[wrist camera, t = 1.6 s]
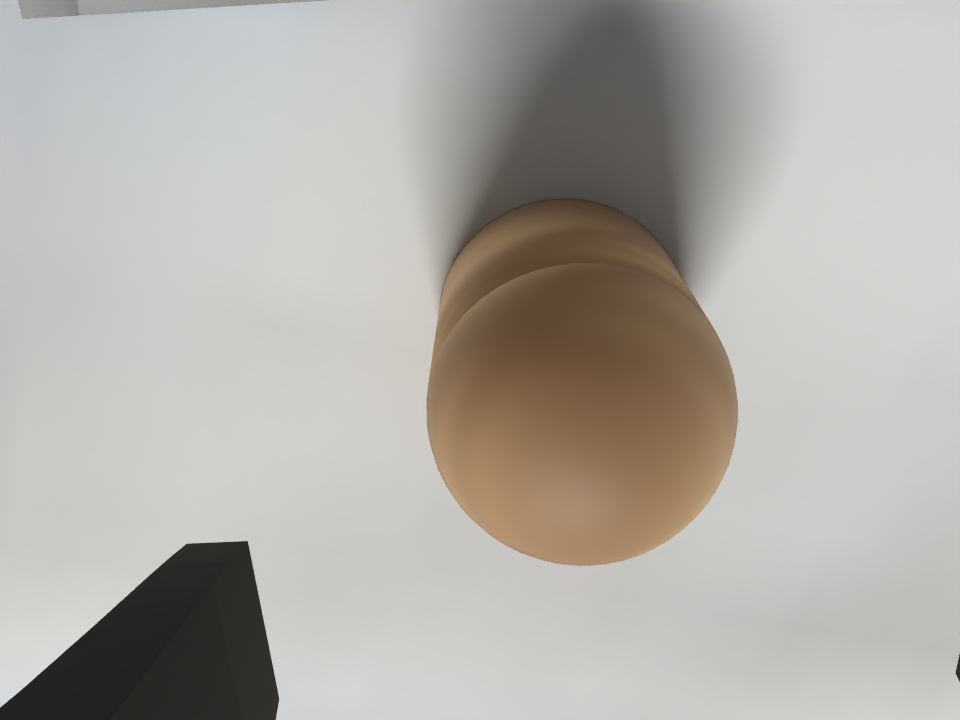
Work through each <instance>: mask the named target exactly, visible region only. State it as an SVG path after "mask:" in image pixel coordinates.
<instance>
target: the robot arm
mask: <svg viewBox="0 0 960 720" xmlns="http://www.w3.org/2000/svg"><path fill="white" fill-rule="evenodd" d="M956 675H957V677H958V679H959V681H960V655H959V660H958V664H957V669H956ZM278 703H279V696H278V691H277V686H276V681H275V676H274V670H273V665H272V660H271V655H270V650H269V645H268V640H267V635H266V630H265V625H264V620H263V615H262V610H261V605H260V600H259V595H258V590H257V585H256V580H255V575H254V570H253V565H252V560H251V555H250V550H249V545H248V541H241V542H218V543H196V544H186V545H185V546H184V547H182V548H181V549H180V550H179V551H177V552H176V553H175V554H174V555H173V556H171V557H170V558H169V559H168V560H167V561H166V562H164V563H163V564H162V565H161V566H160V567H159V568H158V569H156V570H155V571H154V572H153V573H152V574H151V575H150V576H149V577H148V578H146V579H145V580H144V581H143V582H142V583H141V584H140V585H139V586H138V587H136V588H135V589H134V590H133V591H132V592H131V593H130V594H129V595H128V596H126V597H125V598H124V599H123V600H122V601H121V602H120V603H119V604H118V605H117V606H115V607H114V608H113V609H112V610H111V611H110V612H109V613H108V614H107V615H106V616H104V617H103V618H102V619H101V620H100V621H99V622H98V623H97V624H96V625H94V626H93V627H92V628H91V629H90V630H89V631H88V632H87V633H85V634H84V635H83V636H82V637H81V638H80V639H79V640H78V641H76V642H75V643H74V644H73V645H72V646H71V647H70V648H69V649H67V650H66V651H65V652H64V653H63V654H62V655H61V656H59V657H58V658H57V659H56V660H55V661H54V662H53V663H52V664H50V665H49V666H48V667H47V668H46V669H45V670H44V671H43V672H41V673H40V674H39V675H38V676H37V677H36V678H35V679H33V680H32V681H31V682H30V683H29V684H28V685H27V686H26V687H24V688H23V689H22V690H21V691H20V692H19V693H17V694H16V695H15V696H14V697H13V698H11V699H10V700H9V701H8V702H7V703H5V704H4V705H3V706H2V707H0V720H276V714H277V708H278Z"/></svg>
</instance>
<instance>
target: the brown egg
mask: <svg viewBox="0 0 960 720" xmlns="http://www.w3.org/2000/svg"><path fill="white" fill-rule="evenodd" d="M737 422H738V402H737V394H736V387H735V381H734V375H733V372H732V368H731V365H730V362H729V359H728V356H727V354H726V352H725V349H724V347H723V345H722V343H721V341H720V339H719V337H718V335H717V333H716V331H715V330H714V328H713V326H712V325H711V323H710V322H709V320H708V318H707V317H706V315H705V314H704V312H703V310H702V309H701V307H700V306H699V304H698V302H697V301H696V299H695V298H694V296H693V294H692V293H691V291H690V290H689V288H688V286H687V285H686V283H685V282H684V280H683V279H682V277H681V275H680V274H679V272H678V271H677V269H676V267H675V266H674V264H673V263H672V261H671V259H670V258H669V256H668V255H667V253H666V252H665V250H664V249H663V247H662V246H661V244H660V243H659V242H658V241H657V240H656V238H655V237H654V236H653V235H652V234H651V233H650V232H649V231H648V230H647V229H646V228H644V227H643V226H642V225H641V224H639V223H638V222H637V221H636V220H634V219H632V218H631V217H629V216H627V215H626V214H624V213H622V212H620V211H618V210H616V209H613V208H611V207H609V206H606V205H602V204H599V203H595V202H591V201H585V200H578V199H553V200H545V201H539V202H535V203H531V204H527V205H524V206H521V207H519V208H516V209H513V210H511V211H509V212H507V213H505V214H503V215H501V216H500V217H498V218H496V219H494V220H493V221H491V222H490V223H489V224H487V225H486V226H485V227H483V228H482V229H481V230H480V231H479V232H478V233H477V234H476V235H474V236H473V237H472V238H471V239H470V240H469V242H468V243H467V244H466V245H465V247H464V248H463V249H462V250H461V252H460V253H459V255H458V256H457V258H456V260H455V261H454V263H453V264H452V266H451V269H450V271H449V273H448V276H447V278H446V280H445V284H444V288H443V291H442V295H441V302H440V309H439V315H438V322H437V329H436V336H435V343H434V350H433V356H432V363H431V370H430V377H429V384H428V392H427V428H428V434H429V440H430V445H431V448H432V452H433V455H434V458H435V461H436V464H437V467H438V470H439V472H440V474H441V476H442V478H443V480H444V482H445V484H446V486H447V487H448V489H449V491H450V492H451V494H452V495H453V497H454V498H455V500H456V501H457V503H458V504H459V506H460V507H461V508H462V509H463V510H464V511H465V512H466V514H467V515H468V516H469V517H470V518H471V519H472V520H473V521H474V522H475V523H477V524H478V525H479V526H480V527H481V528H482V529H484V530H485V531H486V532H487V533H488V534H489V535H491V536H492V537H494V538H495V539H497V540H498V541H500V542H501V543H503V544H504V545H506V546H508V547H510V548H512V549H514V550H516V551H518V552H520V553H523V554H526V555H529V556H532V557H534V558H537V559H540V560H544V561H548V562H553V563H557V564H565V565H578V566H591V565H602V564H609V563H614V562H619V561H623V560H626V559H630V558H633V557H636V556H639V555H641V554H643V553H646V552H648V551H650V550H652V549H654V548H656V547H658V546H659V545H661V544H663V543H665V542H666V541H668V540H669V539H671V538H672V537H673V536H675V535H676V534H677V533H679V532H680V531H681V530H683V529H684V528H685V527H686V526H687V525H688V524H689V523H690V522H691V521H692V520H693V519H694V518H696V517H697V516H698V514H699V513H700V512H701V511H702V510H703V508H704V507H705V506H706V505H707V504H708V502H709V501H710V499H711V497H712V496H713V494H714V493H715V491H716V490H717V488H718V486H719V484H720V482H721V480H722V478H723V476H724V474H725V471H726V469H727V467H728V465H729V462H730V458H731V455H732V451H733V448H734V442H735V436H736V429H737Z"/></svg>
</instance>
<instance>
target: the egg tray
mask: <svg viewBox="0 0 960 720" xmlns="http://www.w3.org/2000/svg"><path fill="white" fill-rule="evenodd" d="M306 1H323V0H18V3H19V7H20V11H21V14H22V18H23V19H29V18H45V17H61V16H78V15H94V14H110V13H127V12H143V11H159V10H176V9H192V8H208V7H225V6H241V5H257V4H274V3H290V2H306Z"/></svg>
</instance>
